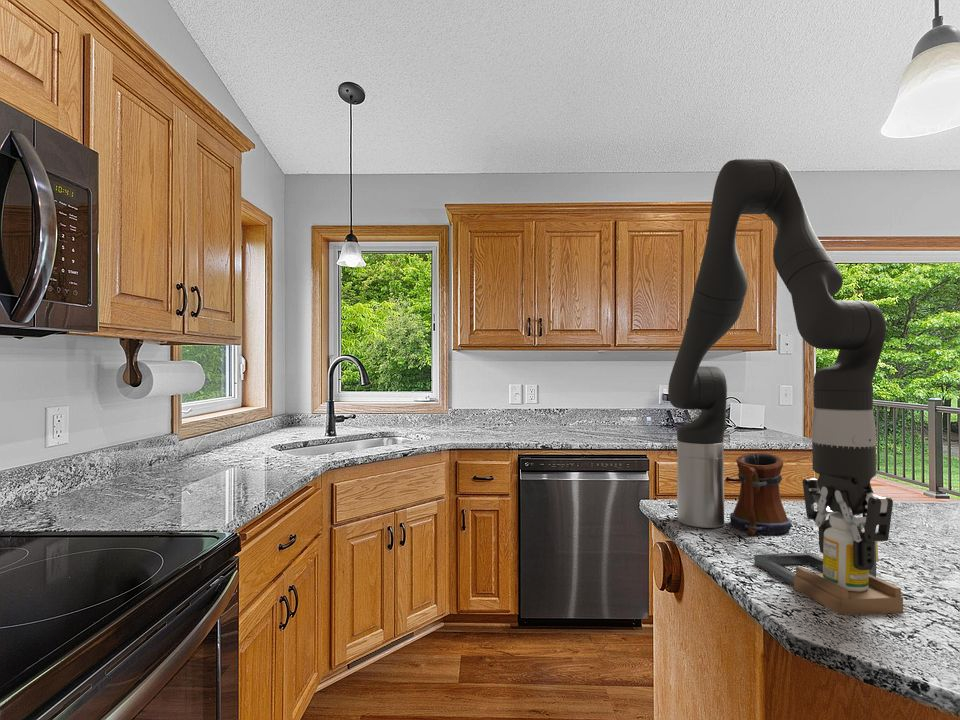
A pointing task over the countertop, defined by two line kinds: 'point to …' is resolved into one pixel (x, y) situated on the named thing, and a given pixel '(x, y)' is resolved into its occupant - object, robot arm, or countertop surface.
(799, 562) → the socket collar
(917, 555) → the countertop surface
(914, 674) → the countertop surface
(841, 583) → the supplement bottle
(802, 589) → the wooden tray
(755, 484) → the mug
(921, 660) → the countertop surface
